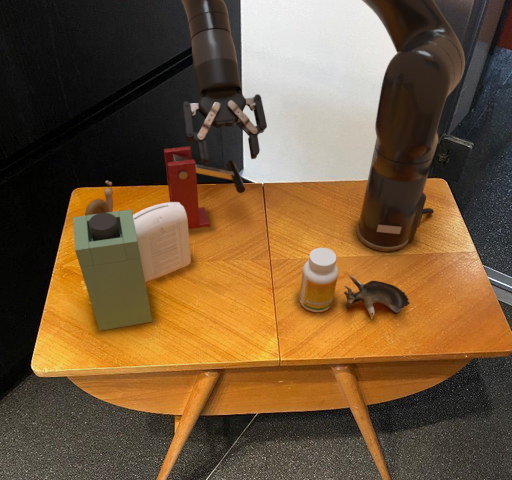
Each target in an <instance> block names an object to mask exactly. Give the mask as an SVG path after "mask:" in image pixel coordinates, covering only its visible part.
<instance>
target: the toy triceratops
mask: <svg viewBox="0 0 512 480" xmlns="http://www.w3.org/2000/svg"><path fill="white" fill-rule="evenodd" d="M348 277H349V279H350V280H351V282H353V284H354V285H355V286H356V287H357V289H358V291H357V292H355V293H354V291H353V289H352V288H350V287H349V286H347V285H344V288H345V289H346V290H347V291H344V295H345V297H346V304H345V307H346V308H347V307H352V306H353V305H354V304H356V303H360V302H362V303H363V305H364V307H365V308H366V309H367V311H368V314H369V317H370V320H373V319H374V316H375V308H374V304H375V303H379V304H382V305H383V306H385V307H387V308H389V309H390V310H391V311H393V312H394V313H396V314H398V313H401V310H402V309H404V308H405V307H408V305H410V304H411V303H410V302H409V297H408V295H407V294H406V292H404V291H403V290H402V289H400V288H399V287H397V286H396V285H394V284H391V283H387V282H383V281H379V280H370V281H368V282H366V283H364V284H363V283H362V282H360V281H359V280H357V279H356V277H354V276H352V275H351V274H349V275H348Z"/></svg>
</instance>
